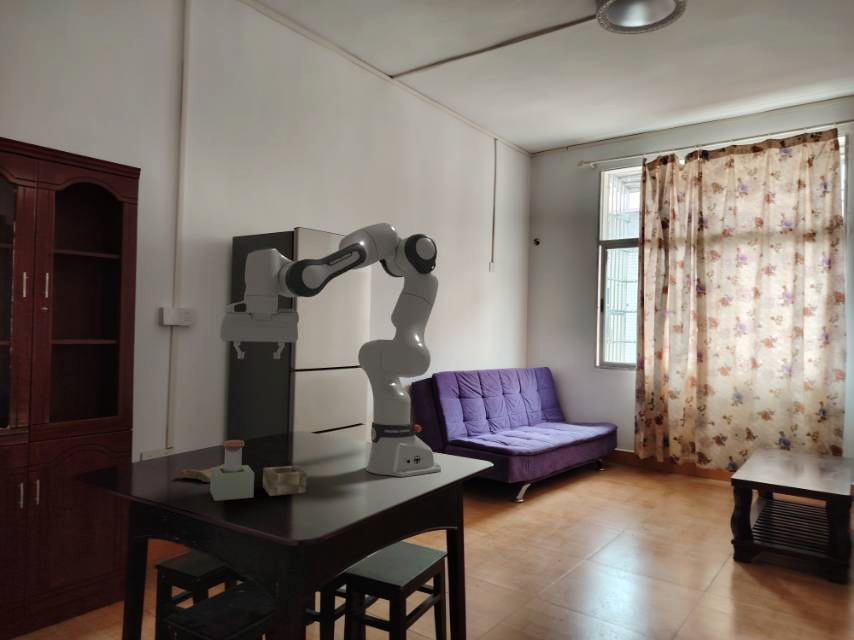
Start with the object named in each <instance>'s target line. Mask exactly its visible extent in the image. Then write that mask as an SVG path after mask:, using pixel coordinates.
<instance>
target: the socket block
mask: <svg viewBox="0 0 854 640" xmlns="http://www.w3.org/2000/svg"><path fill="white" fill-rule="evenodd" d="M210 469H211V481H210V482H209V483H210V485H209V486H210V487H209V489H210V490H209V491H210V492H209V493H210V495H211V496H212V498H213V501H215V502H216V501H218V502H219V501H225V500H226V501H228V500H238V499H248V498H251V499H252V498H254V494H255V493H254V492H255V491H254V488H255V486H254V485H255V484H254V483H255V472H254V471H253V470H252V468H251V467H250V466H249V465H248V464H246V465H245V464H244V465H242V464H241V472H233V473H224V467H217V466H215V467H210Z"/></svg>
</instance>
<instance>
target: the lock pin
mask: <svg viewBox="0 0 854 640" xmlns="http://www.w3.org/2000/svg"><path fill="white" fill-rule="evenodd" d="M244 446H245V441H244V440H241V439H230V440H229V439H227V440H224V441H223V443H222V447H223V448H224V463H223V464H224V473H233V472H241V466H242V458H243V457H242V455H243V452H242V451H243V447H244Z"/></svg>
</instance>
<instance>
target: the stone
mask: <svg viewBox="0 0 854 640" xmlns="http://www.w3.org/2000/svg"><path fill="white" fill-rule="evenodd" d="M216 467H224V463H222V464H220V465H217V466H216ZM177 477H178V479H179V480H183V479H184V480H185V479H194V480H195V479H196V480H199V481H202V482H203V483H210V481H211V468H208V469H202V470H194V469H181V471H180V472H179V473H178V476H177Z"/></svg>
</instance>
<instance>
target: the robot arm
mask: <svg viewBox="0 0 854 640" xmlns="http://www.w3.org/2000/svg"><path fill="white" fill-rule="evenodd" d="M437 256H438V249H437V244H436V242H435V240H434V239H433V238H432V237H431V236H430V235H428V234H426V233H417V234H412V235H410V236H409V237H408V236H407V237H405V238H401V237H400V236H399V234H398V232H397V230H396V229H395V227H393V225H391V224H389V223H387V222H380V223H375V224H370V225H368V226H364V227H361V228H360V229H357V230H355V231H353V232H351V233H349V234H347V235H346V236H344V237H343V238H342V239H340V242H339V244H338V250H337V251H334V252H331V254H328V255H326V256H324V257H322V258H319V259H314V258H304V259H300V260H298V261H297V260H296V261H293V260H291V259H289V258H287V257H285V256H284V255H282V253H280V252H279V251H278V249H277V248H274V247H262V248H256V249H253V250H251V251H249V252H248V254H247V256H246V257H247V258H246V261H245V269H244V271H245V272H244V281H245V291H244V294H243V295H244V296H243V300H240V301H236V302H235V303H230V304H228V305H226V307H225V311H226V314H225V315H224V316H223V318H222V321H221V325H220V332H219V337H220V339H221V341H223V342H233V347H234V348H235V350H236V352H237V359H238V360H239V359H240V360H244V359H245V351H242V350H241V349H240V347H239V346H241V342H260V343H261V342H262V343H267V342H268V343H277V346H278V349H277V351H276V352H275V351H274V352H273V355H272V356H273V360H280V359H281V353H282V351H283V350H284V348H285V345H286V344H285V343H297V341H298V339H299V330H298V323H299V322H300V317H299V315H300V314H299V313H298V312H297V311H296V310H295V309H293V308H279V306H278V305H279V296H283V297H286V298H300V297H301V298H313V297H315V296H317V295H318V294H320V293H321V292H322V290H324V289H325V287H326V286H327V285H328V284H329V283H330V282H331V281H332V280H334V279H335V278H337V277H339V276H341V275H343V274H345V273H347V272H349V271H351V270H354V271H355V270H359V269H360V270H361V269H363V268H365V267H369V266H371V265H373V264H375V263H380V265H381V267H382V269H383V270H384V272H385V273H386V274H387V275H388V276H390V277H392V278H403V288H402V289H401V292H400V294H399V297H398V298H397V302H396V303H395V306H394V308H393V310H392V313H391V317H390V320H391V323H392V325H393V326H394V328H395V334H394V337H393V338H392V339H380V338H379V339H374V340H370V341H366V342H365V343H364V344H362V345H361V347H360V348H359V350H358V355H357V359H358V364H359V366H360V368H361V369H362V371H364V373H365V374H366V376H367V378H368V379H367V380H369V383H370V384H369V385H370V387H371V391H372V399H373V400H372V403H373V406H372V407H373V408H372V409H373V412H372V413H373V415H372V417H373V418H372V419H373V421H372V422H371V428H370V438H371V439H370V440H371V446H370V454H369V458H368V462H367V466H366V468H365V469H366V471H367V472H368V473H373V474H376V475H385V476H395V477H410V476H418V475H424V474H430V473H431V474H432V473H437V472H442V466H441V465H440V464H438V463H436V462H435V459H434V458H435V457H434V452H433V450H432V448H431V447H430V446H429V445H428V444H426V443H425V442H424V441H423V440H422V439H420V438H419V437H418V436H417V435H416V433H420V432H421V431H422V427H421V426H420V425H419V424H413V423H412V422H411V402H412V401H411V396H410V394H409V393H408V392H407V391H406V390H405V389H404V387H403V384H402V383H401V379H400V378H406V379H410V378H415V377H420V376H423V375H425V374H426V373H427V372H428V370H429V368H430V365H431V361H432V360H431V353H430V350H429V348H428V347H427V346H426V343H425V332H426V328H427V324H428V321H429V319H430V317H431V313H432V310H433V308H434V305H435V303H436V298H437V295H438V288H439V279H438V278H437V276H436V275H435V273H433V271H434V270H435V268H436V266H437V263H436V261H437Z"/></svg>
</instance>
